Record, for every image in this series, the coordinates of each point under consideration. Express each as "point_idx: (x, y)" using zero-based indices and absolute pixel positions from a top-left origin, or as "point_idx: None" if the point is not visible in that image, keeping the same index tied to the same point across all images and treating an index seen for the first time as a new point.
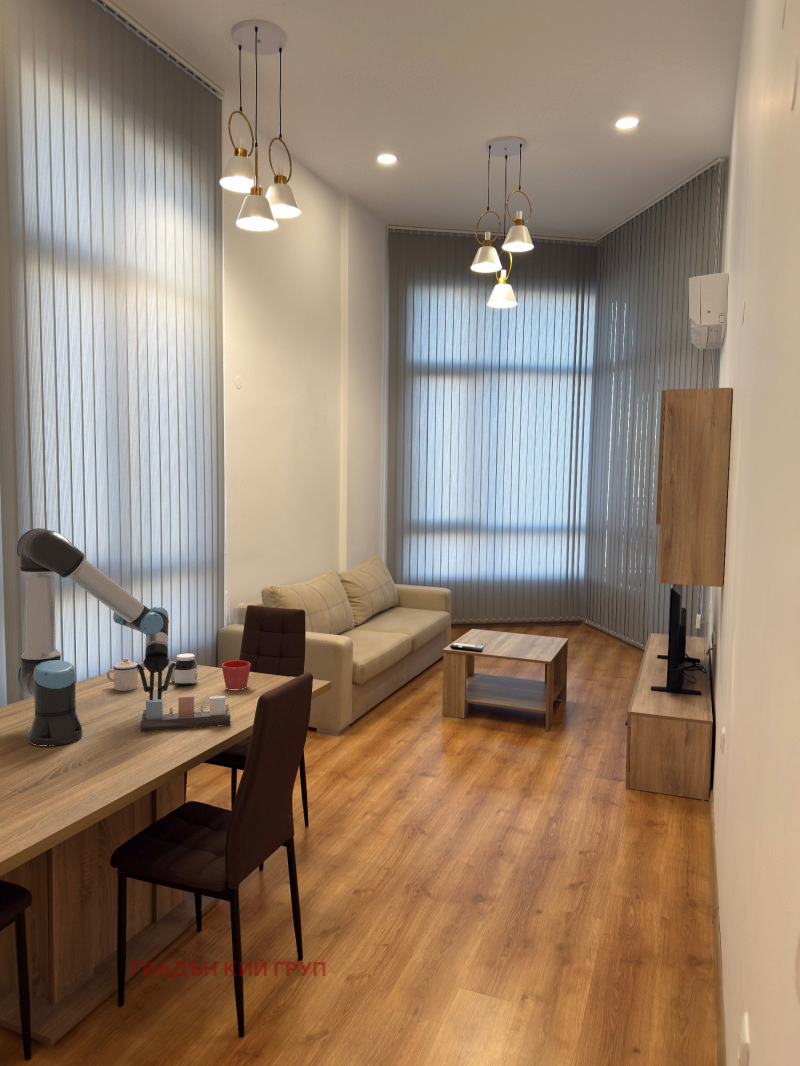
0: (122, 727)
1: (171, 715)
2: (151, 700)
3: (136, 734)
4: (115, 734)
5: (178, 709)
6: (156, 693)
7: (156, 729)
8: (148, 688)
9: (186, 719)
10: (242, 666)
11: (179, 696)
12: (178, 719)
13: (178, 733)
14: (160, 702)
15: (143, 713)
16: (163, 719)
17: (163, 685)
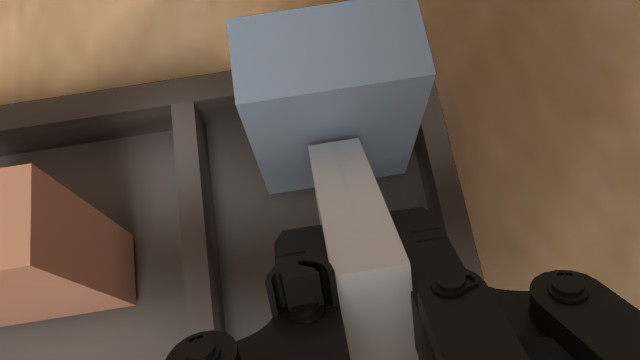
0: (603, 201)
1: (179, 179)
2: (367, 62)
3: (433, 42)
4: (590, 50)
5: (97, 210)
6: (343, 234)
7: None
8: (510, 307)
9: (44, 105)
10: None
11: (16, 220)
12: (110, 92)
13: (134, 46)
14: (246, 24)
15: (472, 260)
16: None
17: (235, 354)
